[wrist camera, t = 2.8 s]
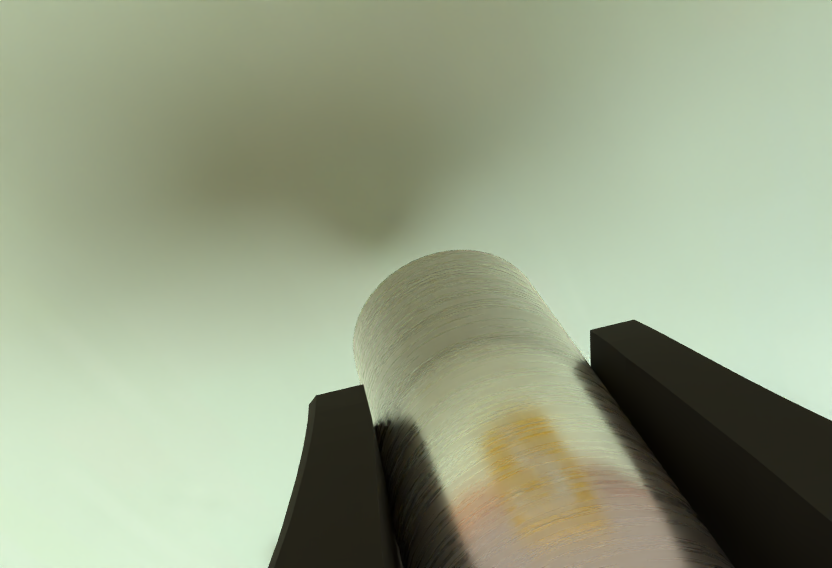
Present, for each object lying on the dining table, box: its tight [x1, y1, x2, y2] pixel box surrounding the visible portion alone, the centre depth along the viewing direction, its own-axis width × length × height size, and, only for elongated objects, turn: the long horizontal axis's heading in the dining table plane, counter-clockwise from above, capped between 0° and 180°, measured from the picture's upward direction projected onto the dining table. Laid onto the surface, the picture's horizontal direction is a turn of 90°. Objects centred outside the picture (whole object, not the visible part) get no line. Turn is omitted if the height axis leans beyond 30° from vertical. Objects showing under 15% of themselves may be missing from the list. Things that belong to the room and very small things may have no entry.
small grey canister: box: [353, 250, 735, 568], centre depth 8 cm, size 3×3×7 cm
